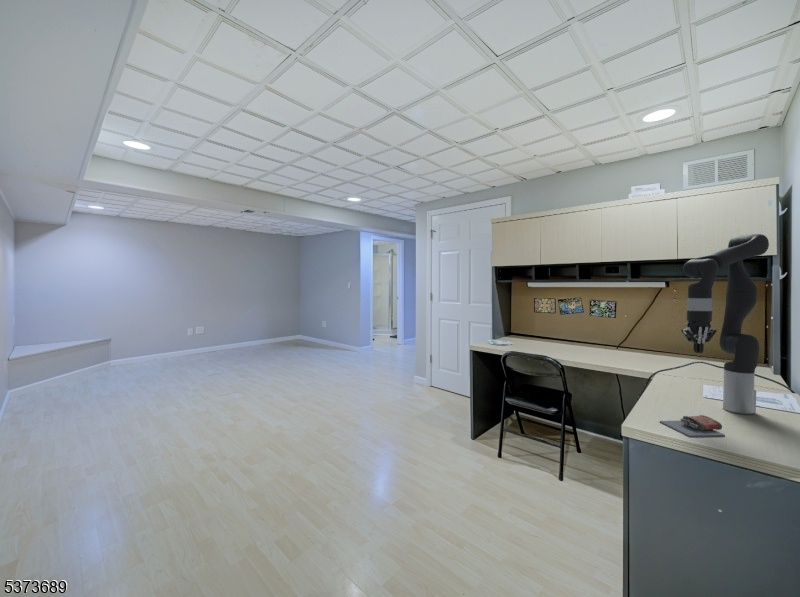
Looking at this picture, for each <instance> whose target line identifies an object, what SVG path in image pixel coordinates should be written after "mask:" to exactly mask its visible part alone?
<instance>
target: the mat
mask: <svg viewBox="0 0 800 597" xmlns="http://www.w3.org/2000/svg"><path fill="white" fill-rule="evenodd" d="M659 424H662V425H664V426H666V427H668V428H669V429H672V430H674V431H676V432H678V433H680V434H682V435H684V436H686V437H689V438H717V437H718V438H719V437H722V438H724V437H726V435H725V434H724V433H722V432H720V431H718V430H716V429H712V430H703V431H701V430H697V429H695V428H692V427H691V426H687V425H685V423H683V422H681V420H659Z"/></svg>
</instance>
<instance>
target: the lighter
mask: <svg viewBox="0 0 800 597" xmlns="http://www.w3.org/2000/svg"><path fill="white" fill-rule="evenodd" d="M680 421H681V422H683V423H685V425H687V426H691V427H692V428H695V429H697V430H701V431H703V430H712V429H713V430H715V431H719V430H720V431H721V430H722V428H723V425H722V423H720V422H719V421H718V420H716V419H714V418H712V417H709V416H706V415H703V414H701V415H693V416H688V415H683V417H682V418H680Z"/></svg>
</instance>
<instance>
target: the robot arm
mask: <svg viewBox="0 0 800 597" xmlns="http://www.w3.org/2000/svg"><path fill="white" fill-rule="evenodd" d="M769 245H770V242H769V239H768V237H767V236H766V235H764V234H759V233H758V234H757V233H755V234H754V233H753V234H745V235H736V236H732V237H731V238H730V240H729V241H728V246H727V247H726V248H721V249H719V250H716V251H713V252H711V253H708V254H707V255H704V256H700V257H696V258H692V259H690V260H688V261H687V260H686V262H685V263H684V264H683V266H682V273H683V275H685V277H689V278H700V280H699V281H698V282H694V283H689V285H688V287H687V288H688V289H687V292H688V293H687V303H686V320H687V322H688V323H687V325H686V327H685V328H684V329H680V330H681V333H682V334H683V335H684V337H685V339H686V340H687V341H688V342H691V343H693V350H692V351H693V352H694V353H697V354H703V352H704V345H705V343H710V341H711V339H713V337H714V335H715V334H716V333H717V332H718V330H717V329H715V328H712V325H711V322H712V321H713V301H712V300H713V299H712V298H713V297H712V296H713V292H712V291H713V286H714V283H715V280H716V279H717V278H716V277H717V275H718V272H719V270H721V269H723V268H725V267H727V268H728V269H727V270H728V271H727V283H726V284H727V285H726V293H725V294H726V295H725V308H724V314H723V321H722V322H723V323H722V326H721V332H720V336H719V347H720V349H721V351H723V352H725V353H727V354H731V355H734V357H733V360H731V361H726V362H725V363H723V397H722V409H724V410H726V411H728V412H732V413H735V414H741V415H753V414H756V412H757V390H756V389H755V377H756V376H755V374H756V373H755V372H756V371H755V370H756V368H757V366H758V364H759V355H760V354H759V353H760V343H759V340H758V339H757V338H756V337H755V336H753V335H751V334H745V333H742V326H743V322H744V320H745V319H746V318H747V316H748V315H749V314H750V313H751V312H752V310H753V309H754V308H755V306H756V304H757V298H758V286H757V285H756V282H755V281H754V280H753V279H752V277H751V276H750V275H749V274H748V272H747V270H746V269H745V266H744V260H746V259H750V258H753V257H758V256H762V255H764V254H765V253H766V252H767V251H768V249H769V247H770V246H769Z"/></svg>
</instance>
